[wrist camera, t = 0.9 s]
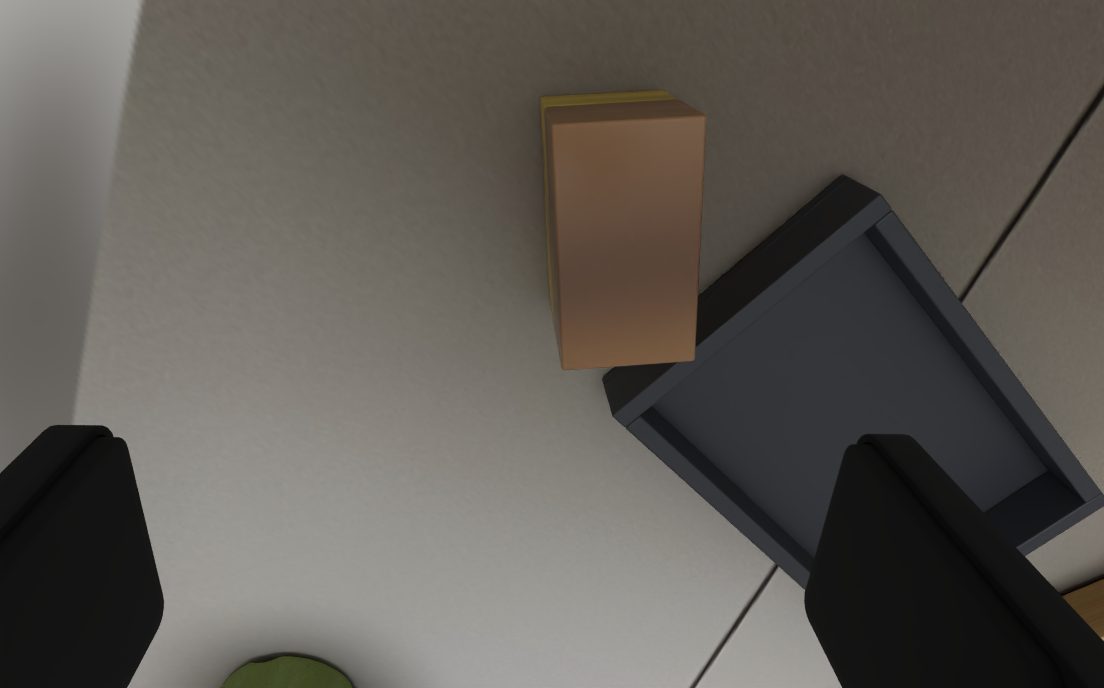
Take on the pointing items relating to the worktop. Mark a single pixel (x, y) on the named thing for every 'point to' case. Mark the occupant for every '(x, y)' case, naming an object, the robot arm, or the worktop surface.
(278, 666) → the plant pot
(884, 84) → the worktop surface
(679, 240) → the scrub brush
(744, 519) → the tray
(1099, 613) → the soap dish
